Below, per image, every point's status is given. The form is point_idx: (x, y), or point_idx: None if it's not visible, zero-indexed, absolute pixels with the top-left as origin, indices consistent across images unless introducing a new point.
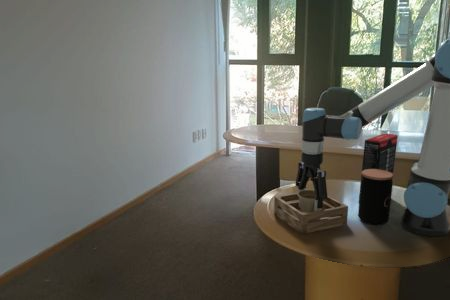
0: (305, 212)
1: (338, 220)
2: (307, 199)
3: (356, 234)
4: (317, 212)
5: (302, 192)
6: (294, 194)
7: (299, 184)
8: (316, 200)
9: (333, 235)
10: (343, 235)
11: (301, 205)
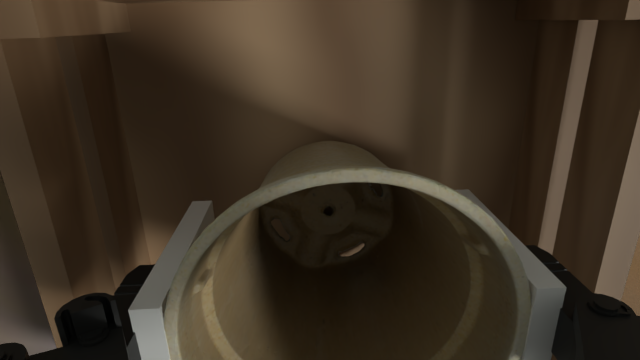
0: (288, 161)
1: None
2: (225, 224)
3: (10, 336)
4: (10, 190)
5: (502, 295)
6: (609, 228)
7: (635, 354)
8: (134, 305)
9: None
10: (7, 262)
11: (339, 160)
